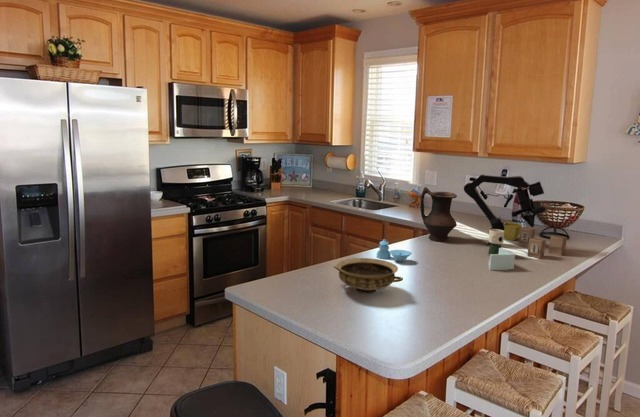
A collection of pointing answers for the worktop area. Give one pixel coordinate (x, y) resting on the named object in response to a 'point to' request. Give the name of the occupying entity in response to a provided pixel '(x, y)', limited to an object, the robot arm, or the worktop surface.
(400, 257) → the blue jar and dish
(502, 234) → the character mug
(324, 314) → the worktop surface
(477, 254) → the worktop surface
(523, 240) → the numbered block
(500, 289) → the worktop surface
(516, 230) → the flower pot
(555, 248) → the plain block
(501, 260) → the l-shaped corner panel
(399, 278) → the ceramic bowl
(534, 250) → the numbered block
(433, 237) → the jug
